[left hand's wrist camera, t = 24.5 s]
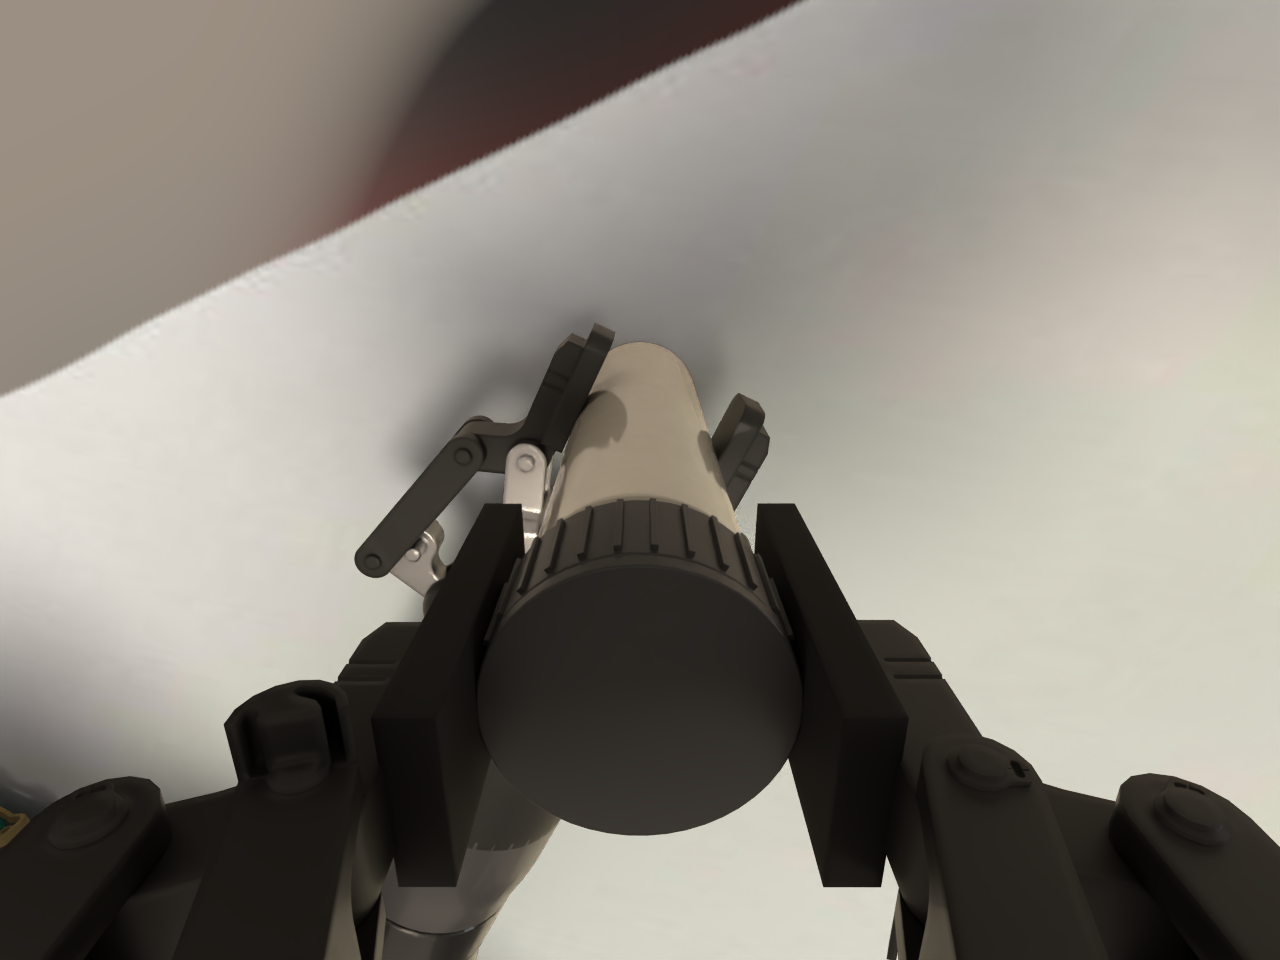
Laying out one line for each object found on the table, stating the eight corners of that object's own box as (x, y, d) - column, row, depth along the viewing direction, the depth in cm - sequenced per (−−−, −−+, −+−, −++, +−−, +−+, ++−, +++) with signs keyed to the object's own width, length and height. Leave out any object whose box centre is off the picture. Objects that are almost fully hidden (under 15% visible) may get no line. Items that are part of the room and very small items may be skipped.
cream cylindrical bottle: (644, 318, 27) (651, 491, 10) (716, 400, 28) (832, 679, 11) (562, 392, 28) (445, 661, 11) (635, 469, 29) (629, 818, 12)
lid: (761, 470, 12) (790, 532, 9) (793, 715, 13) (824, 816, 11) (467, 521, 12) (427, 592, 10) (536, 752, 14) (516, 860, 11)
